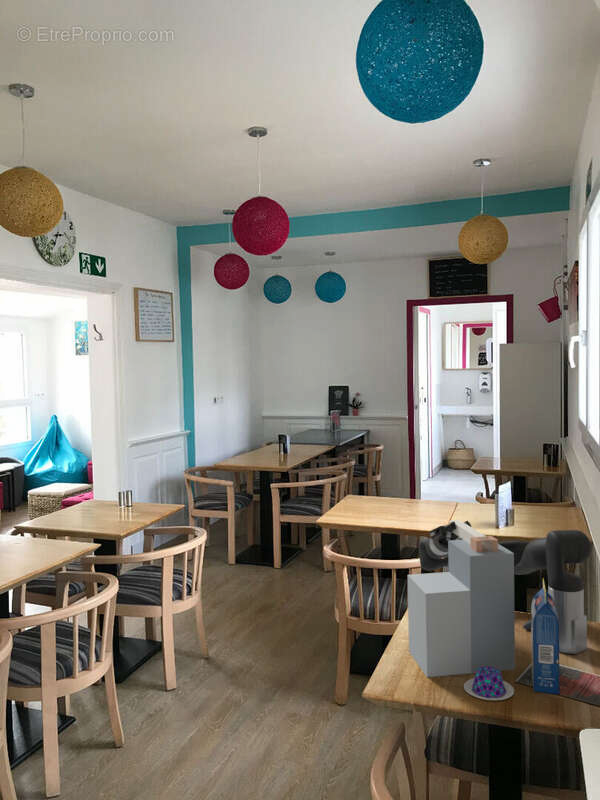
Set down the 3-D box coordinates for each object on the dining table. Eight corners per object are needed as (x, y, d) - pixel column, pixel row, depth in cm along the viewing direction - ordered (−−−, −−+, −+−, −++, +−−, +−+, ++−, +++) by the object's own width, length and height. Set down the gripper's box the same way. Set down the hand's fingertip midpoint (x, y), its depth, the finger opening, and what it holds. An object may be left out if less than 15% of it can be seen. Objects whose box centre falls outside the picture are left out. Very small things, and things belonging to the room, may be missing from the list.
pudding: (461, 699, 164) (461, 678, 164) (466, 677, 175) (466, 657, 175) (513, 706, 160) (513, 684, 160) (515, 683, 171) (514, 663, 171)
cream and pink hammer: (498, 550, 179) (497, 539, 179) (476, 552, 179) (476, 541, 179) (464, 529, 203) (464, 519, 203) (444, 530, 202) (444, 520, 202)
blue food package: (556, 672, 176) (555, 578, 175) (560, 694, 164) (559, 593, 163) (531, 670, 178) (530, 576, 176) (532, 691, 166) (532, 591, 165)
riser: (515, 669, 178) (513, 553, 177) (427, 677, 175) (425, 559, 174) (490, 644, 194) (488, 538, 193) (408, 651, 191) (406, 543, 190)
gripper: (420, 530, 213) (435, 513, 198) (463, 527, 215) (481, 510, 200) (424, 554, 210) (440, 538, 195) (468, 551, 212) (487, 535, 196)
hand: (461, 524), depth 197 cm, fingers open, 3 cm apart
